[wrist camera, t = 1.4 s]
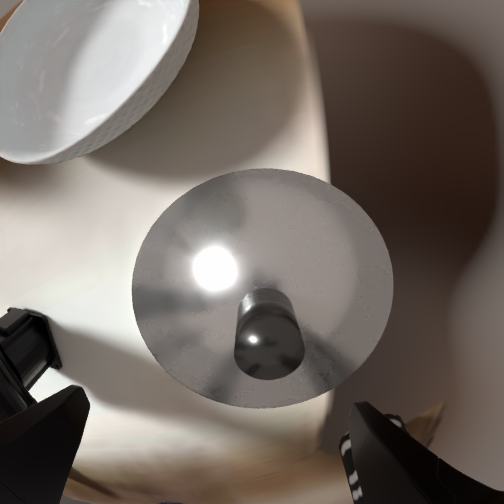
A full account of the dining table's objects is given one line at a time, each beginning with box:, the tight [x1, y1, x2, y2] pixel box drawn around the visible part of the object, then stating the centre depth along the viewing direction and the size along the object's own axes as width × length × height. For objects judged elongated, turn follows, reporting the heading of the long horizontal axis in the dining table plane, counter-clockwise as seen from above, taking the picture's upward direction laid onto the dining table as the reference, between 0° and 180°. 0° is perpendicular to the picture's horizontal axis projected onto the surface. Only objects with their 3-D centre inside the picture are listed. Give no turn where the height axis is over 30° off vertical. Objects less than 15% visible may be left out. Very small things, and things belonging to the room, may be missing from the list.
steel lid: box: [132, 169, 393, 408], centre depth 18 cm, size 20×20×6 cm
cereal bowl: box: [0, 0, 199, 165], centre depth 12 cm, size 17×17×7 cm
